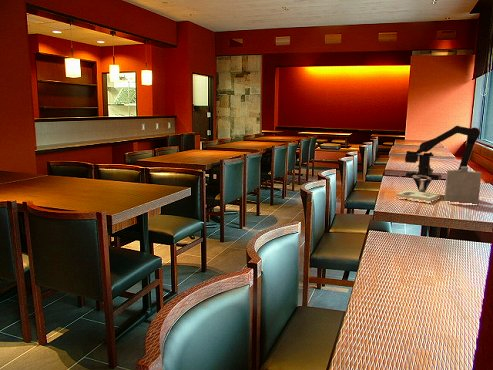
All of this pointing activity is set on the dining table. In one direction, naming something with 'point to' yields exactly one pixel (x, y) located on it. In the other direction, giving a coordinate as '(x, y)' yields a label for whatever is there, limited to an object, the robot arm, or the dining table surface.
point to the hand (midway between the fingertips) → (422, 190)
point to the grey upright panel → (462, 186)
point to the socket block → (419, 195)
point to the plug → (422, 186)
